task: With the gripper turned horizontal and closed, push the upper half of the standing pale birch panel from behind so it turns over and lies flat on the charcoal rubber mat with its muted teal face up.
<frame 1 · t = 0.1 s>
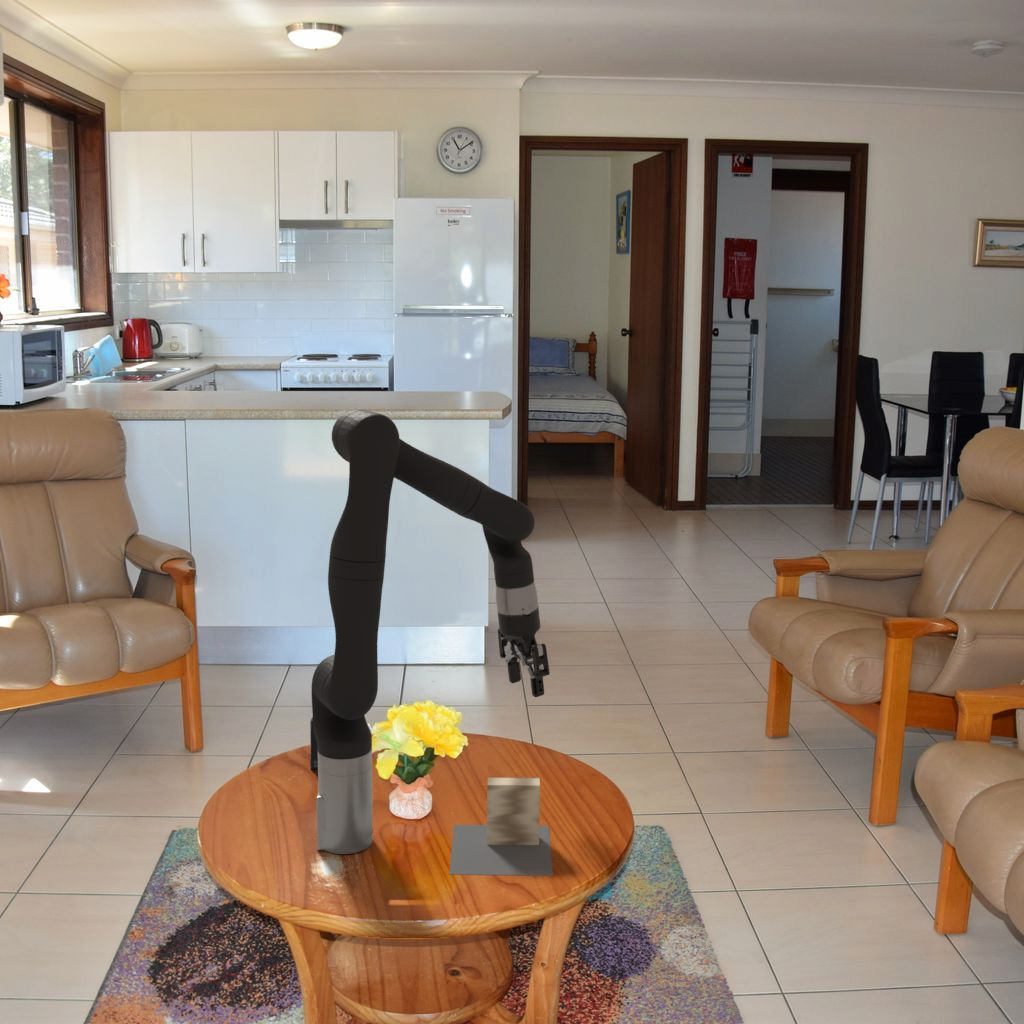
hand: (526, 688, 216), 22 cm above the table, tool pointing down, fingers open, 8 cm apart
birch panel: (512, 840, 203), point 1 cm above the table, touching rubber mat
small box: (330, 761, 238), on the table
rubber mat: (501, 852, 200), on the table
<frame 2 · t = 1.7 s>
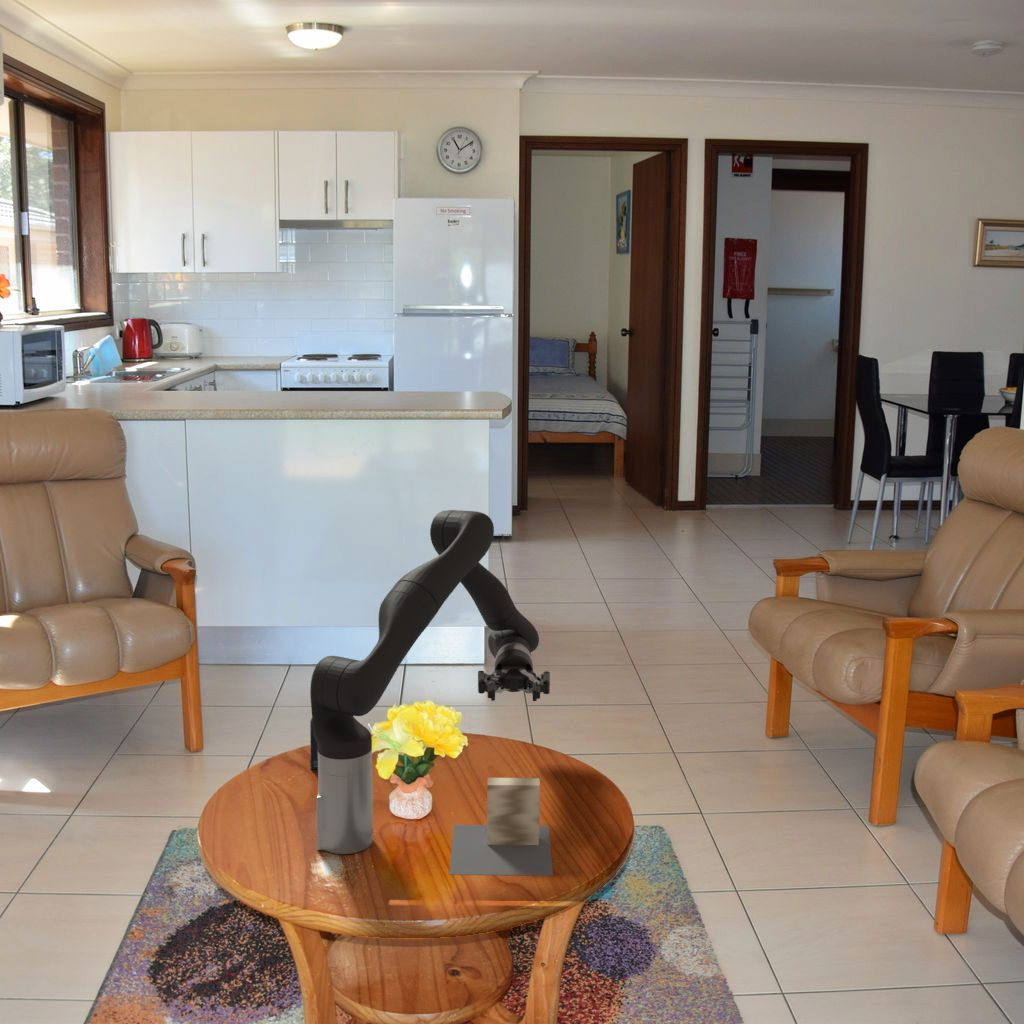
hand: (514, 695, 212), 22 cm above the table, tool horizontal, fingers open, 7 cm apart
nothing on the table moved.
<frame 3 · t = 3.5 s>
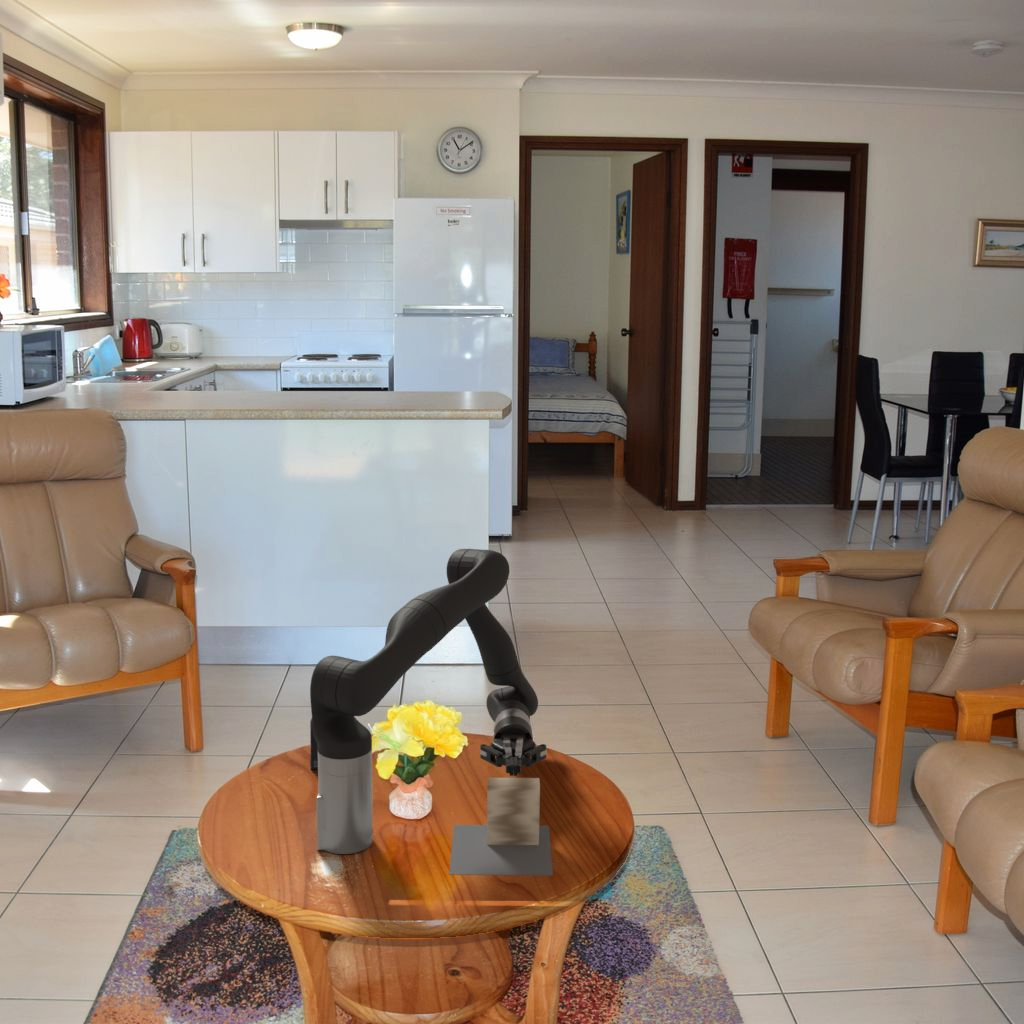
hand: (513, 770, 209), 10 cm above the table, tool horizontal, fingers closed
nothing on the table moved.
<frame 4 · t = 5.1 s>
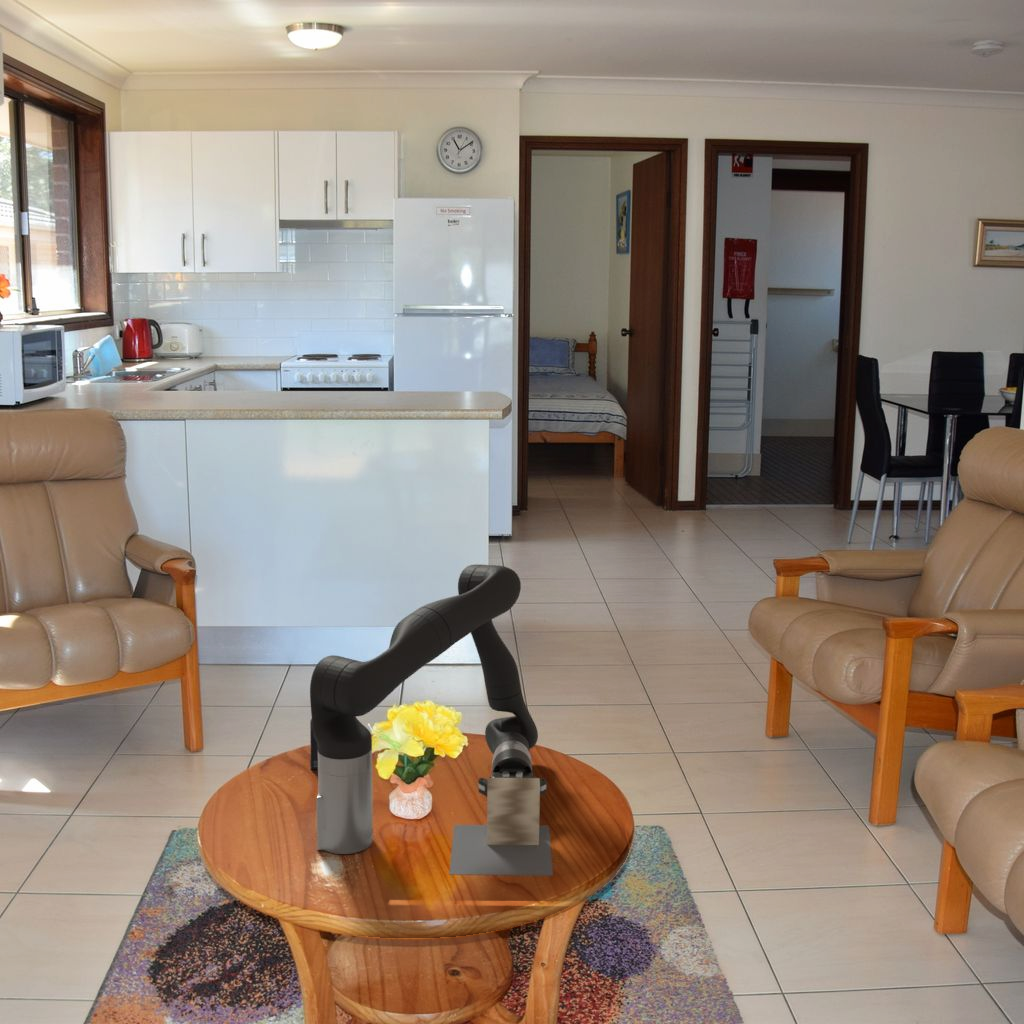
hand: (512, 806, 203), 6 cm above the table, tool horizontal, fingers closed
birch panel: (512, 840, 203), point 1 cm above the table, touching gripper, rubber mat
everything else where it was.
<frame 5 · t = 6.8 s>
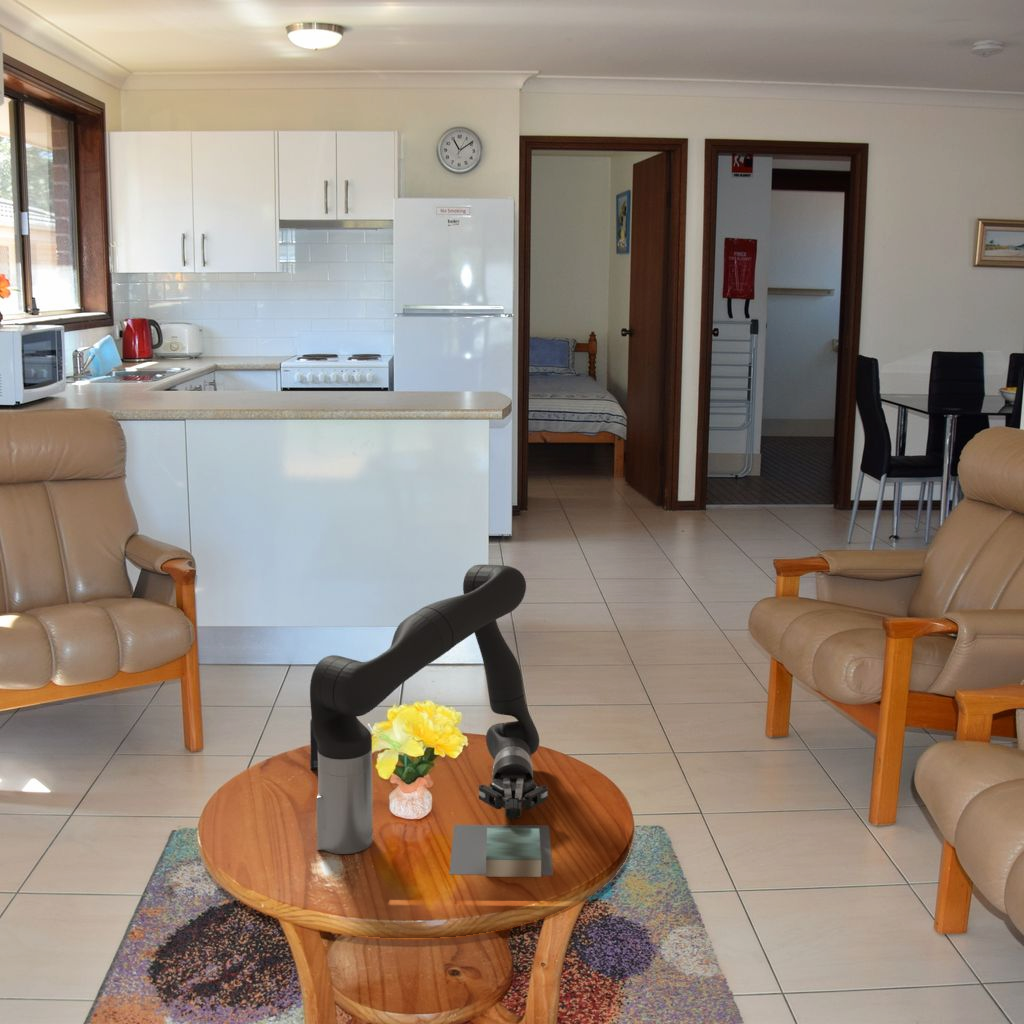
hand: (513, 814, 201), 6 cm above the table, tool horizontal, fingers closed
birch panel: (513, 837, 201), point 2 cm above the table, tilted 90°, touching rubber mat
everything else where it was.
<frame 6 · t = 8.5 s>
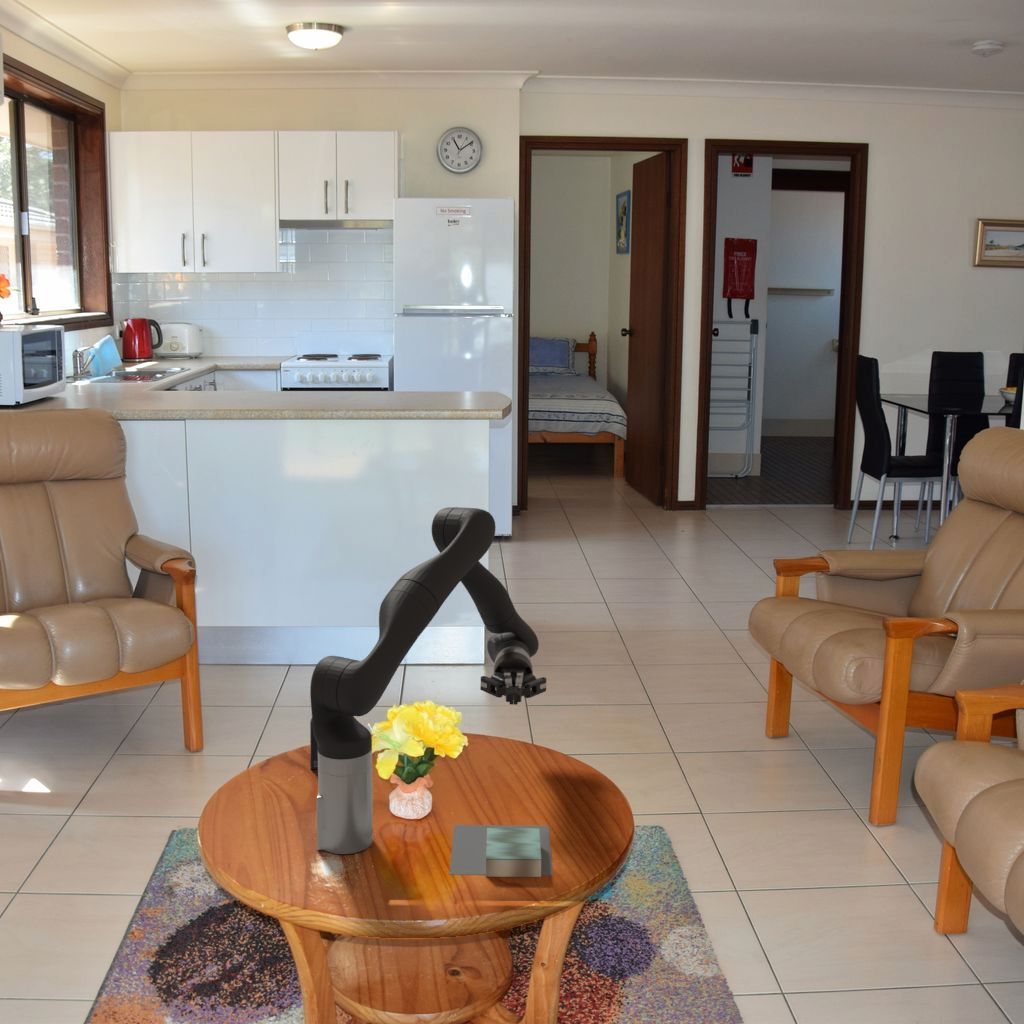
hand: (513, 699, 209), 23 cm above the table, tool horizontal, fingers closed
nothing on the table moved.
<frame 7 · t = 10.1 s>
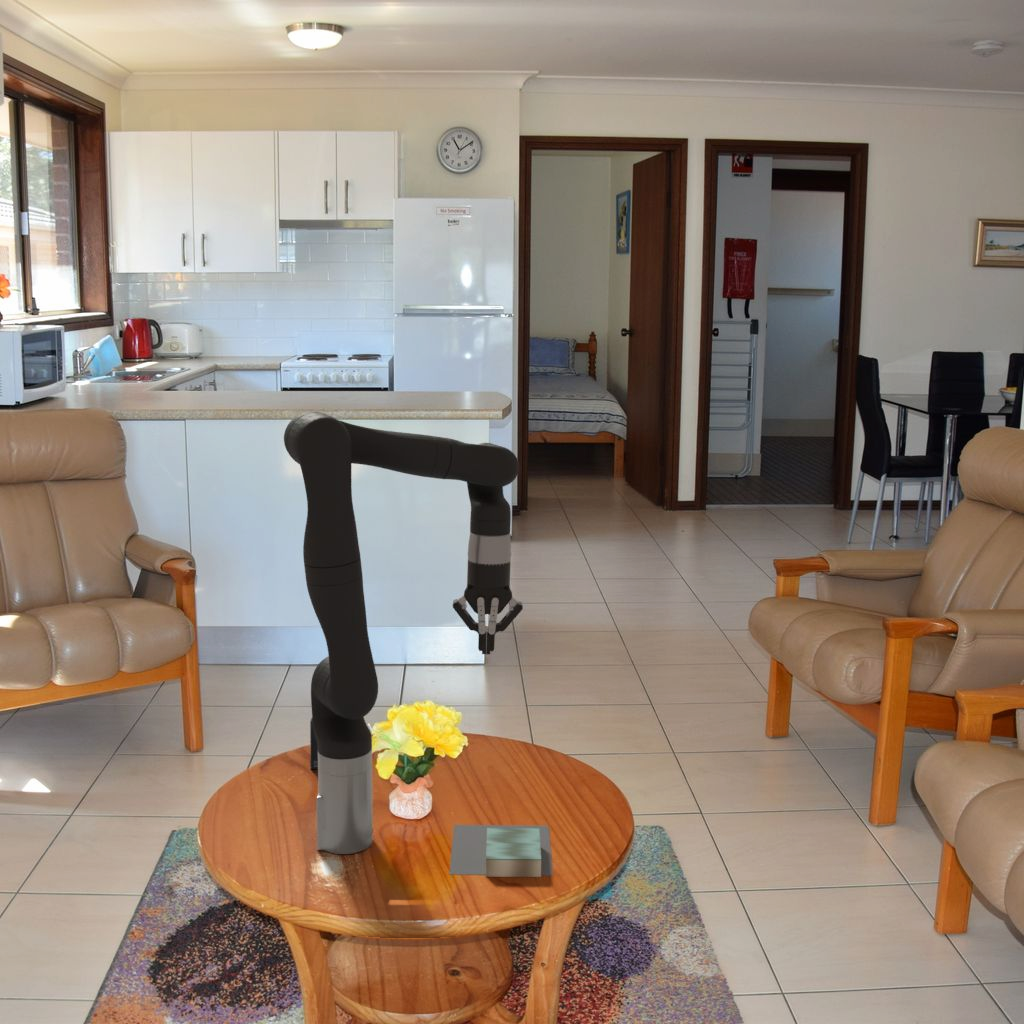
hand: (486, 653, 207), 31 cm above the table, tool pointing down, fingers closed
nothing on the table moved.
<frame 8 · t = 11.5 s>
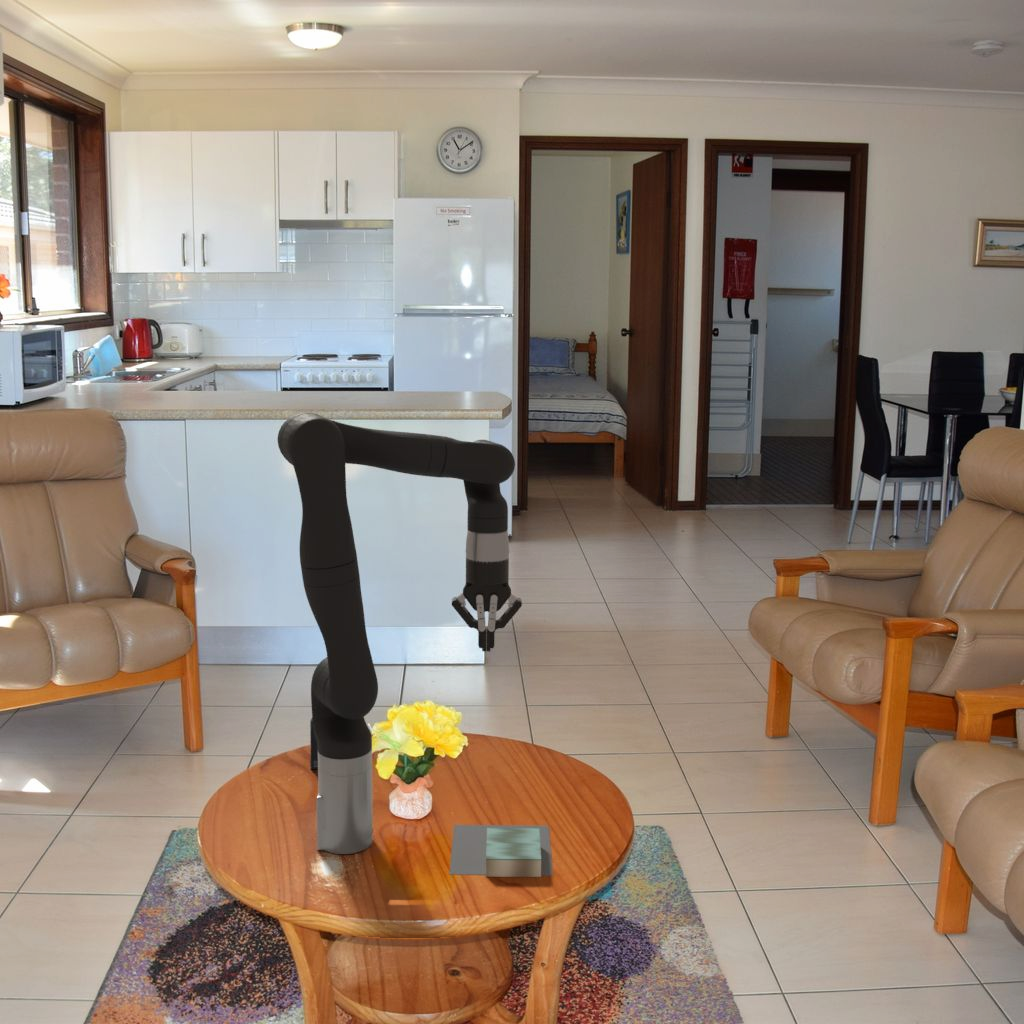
hand: (486, 650, 207), 32 cm above the table, tool pointing down, fingers closed
nothing on the table moved.
at the end: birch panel tilted 90°; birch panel inside the target area on the rubber mat (2.4 cm from its centre), point 2.1 cm above the rubber mat's base; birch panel touching rubber mat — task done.
